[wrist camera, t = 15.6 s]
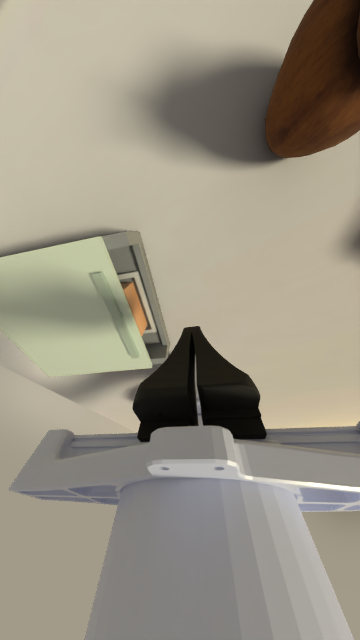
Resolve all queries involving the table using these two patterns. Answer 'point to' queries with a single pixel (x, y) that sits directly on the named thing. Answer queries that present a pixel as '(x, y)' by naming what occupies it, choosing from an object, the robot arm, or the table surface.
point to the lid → (69, 310)
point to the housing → (139, 291)
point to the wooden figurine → (318, 82)
